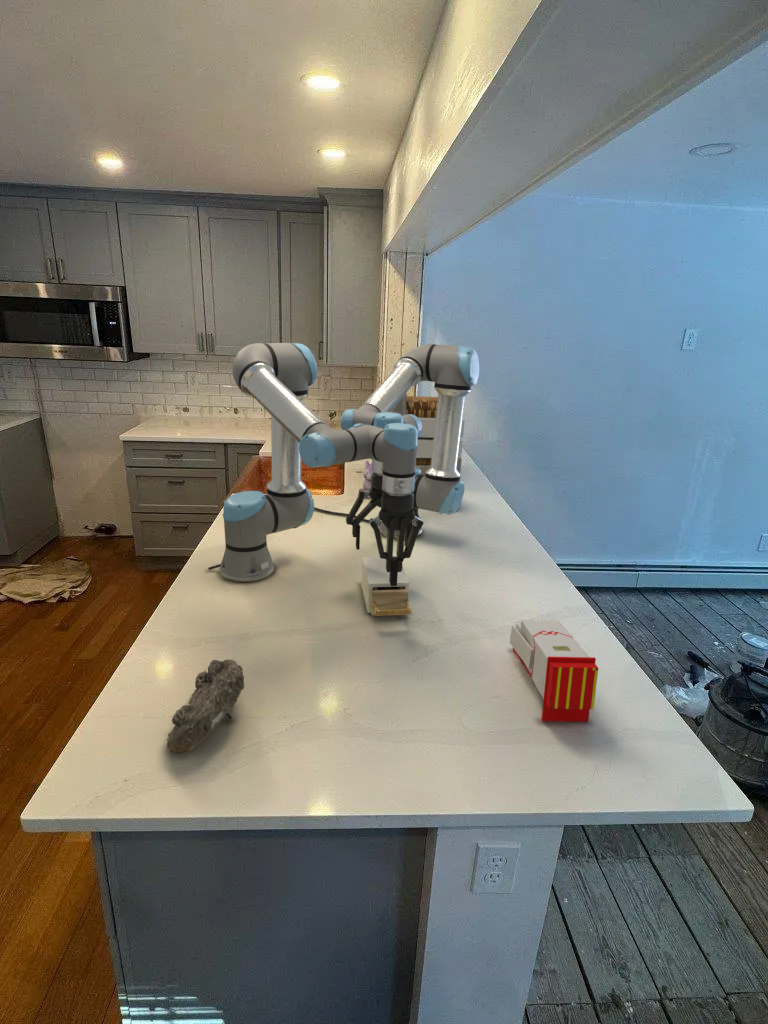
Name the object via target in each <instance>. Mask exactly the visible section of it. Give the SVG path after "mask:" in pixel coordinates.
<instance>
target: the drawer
mask: <svg viewBox="0 0 768 1024" xmlns="http://www.w3.org/2000/svg"><path fill="white" fill-rule="evenodd" d="M409 593H410V591H408V589H403V586H399V587H373V590H372V599H371V613H370V616H375V617H378V616H379V617H381V616H404V615H405V616H406V615H408V616H409V615H412V614H413V610H412V608H410V605H409Z"/></svg>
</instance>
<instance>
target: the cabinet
mask: <svg viewBox="0 0 768 1024" xmlns="http://www.w3.org/2000/svg"><path fill="white" fill-rule="evenodd" d="M393 557H397V555H393ZM360 567H361V568H360V569H361V570H360V571H361V572H360V586H361V590H362V595H363V599H364V603H365V607H366V612H367V614H371V599H372V590H373V587H399V586H403V589H408V591H409V590H410V581H409V578H408V576H407V574H406V572H405V569H404V567H403V565H402V571H401V572H398V576H397V586H391V585H390V582H389V576H390V572H387V570H386V559H381V558H380V555H374V556H361V566H360ZM409 592H410V591H409Z"/></svg>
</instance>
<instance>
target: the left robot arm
mask: <svg viewBox="0 0 768 1024" xmlns="http://www.w3.org/2000/svg"><path fill="white" fill-rule="evenodd" d="M315 358H316V357H315V356H314V354H313V353H312V350H311V349H310V348H309V347H307V346H306V345H305V344H303V343H297V342H267V343H265V342H263V343H262V342H255V343H251V344H247V345H245V346H244V347H243V348H242V349H240V350H239V351H238V353H237V354H236V356H235V357H234V359H233V363H232V368H231V369H232V370H231V371H232V376H233V380H234V382H235V384H236V386H237V388H238V389H239V390H240V391H241V392H242V393H243V395H245V396H246V397H247V398H250V399H255V401H256V402H257V403H259V404H260V405H261V406H262V408H264V409H265V410H266V411H267V412H268V413H269V414H270V417H271V418H270V421H271V422H270V423H271V425H270V426H271V428H270V429H271V430H270V431H271V433H270V434H271V439H270V440H271V445H270V446H271V480H270V481H269V482H267V484H266V493H265V494H264V492H262V491H260V490H249V491H248V490H243V491H239V492H236V493H233V494H231V495H229V496H228V497H227V498H226V499H225V501H224V502H223V512H222V517H223V525H224V527H223V528H224V529H223V530H224V541H225V543H224V544H225V549H224V553H223V555H222V559H221V562H220V563H219V564H215V565H212V566H209V567H207V569H208V571H211V570H214V569H218V568H219V570H220V576H221V577H222V578H224V579H225V580H227V581H229V582H234V583H253V582H254V583H255V582H259V581H262V580H265V579H267V578H269V577H270V576H271V575H272V574H273V573H274V570H275V568H274V566H275V565H274V561H273V559H272V558H273V557H272V556H271V553H270V551H269V548H268V544H267V542H268V541H267V536H268V535H271V534H276V533H280V532H283V531H288V530H292V529H297V528H300V527H301V526H304V525H306V524H308V523H309V522H311V519H312V517H313V515H314V511H315V510H314V507H315V501H314V499H313V495H312V492H311V491H310V490H309V489H308V488H307V485H306V484H305V482H303V480H302V462H303V464H304V465H305V466H307V467H309V468H310V469H311V468H312V469H316V468H327V467H332V466H336V465H341V464H346V463H353V462H359V461H363V460H372V459H373V460H376V461H379V462H383V477H382V490H383V492H382V497H381V507H380V510H379V512H378V515H377V516H376V517H374V518H373V517H371V518H369V519H368V520H369V522H370V523H369V522H368V523H369V524H370V527H371V528H372V530H373V533H374V538H375V542H376V547H377V551H378V556H380V558H381V559H386V570H387V572H390V576H389V582H390V585H391V586H397V576H398V572H401V571H402V566H403V562H404V560H405V559H410V558H411V556H412V553H413V550H414V547H415V543H416V540H417V539H418V538H417V535H418V532H419V530H420V528H421V527H422V528H423V526H424V523H425V522H424V521H423V519H422V517H419V518H418V517H416V516H415V514H414V511H413V504H414V494H413V491H414V488H415V469H416V468H417V466H416V456H417V448H418V438H417V429H416V427H415V426H413V425H410V424H403V423H391V424H388V425H386V426H385V429H382V428H378V427H375V426H373V425H370V424H361V423H358V424H355V425H353V426H352V427H351V428H349V429H344V430H342V429H337V430H334V429H332V427H330V426H329V425H328V424H327V423H326V422H325V421H324V420H323V419H321V418H320V416H318V414H317V413H315V412H314V411H313V410H312V409H311V408H310V407H309V406H307V404H305V402H303V401H304V399H305V398H306V397H307V396H308V395H309V387H311V386H312V385H314V383H315V382H316V380H317V377H318V366H317V361H316V359H315ZM412 520H413V521H412ZM380 521H382V522H383V524H384V525H385V527H386V528H387V537H386V547H385V549H384V545H383V540H382V535H381V534H380V530H379V526H380ZM411 522H412V524H413V525H412V528H411V531H410V534H409V537H408V540H407V544H406V547H405V545H404V544H405V540H404V535H405V529H406V528H407V526H408V525H409V524H410V523H411ZM394 530H398V536H397V540H396V556H397V557H393V556H394V540H395V539H394Z"/></svg>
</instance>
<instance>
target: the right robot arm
mask: <svg viewBox="0 0 768 1024" xmlns="http://www.w3.org/2000/svg"><path fill="white" fill-rule="evenodd" d="M479 376H480V361H479V357H478V353H477V351H476V350H475V349H474V348H473V347H470V346H464V345H451V344H450V345H449V344H436V343H435V344H434V343H427V344H422V345H419V346H417V347H415V348H412V349H411V350H410V351H407V352H406V353H405V354H403V355H402V356H401V357H399V359H398V360H397V361H396V362H395V363H394V365H393V370H392V371H391V372H390V373H389V374H388V376H386V378H385V379H384V380H383V381H382V382H381V383H380V385H378V387H377V388H376V389H375V390H374V391H373V393H371V394H370V395H369V397H368V398H366V400H365V401H364V402H363V403H362V404H361V406H359V408H358V409H355V408H349V409H345V410H344V411H343V413H342V415H341V418H340V427H341V430H344V429H349V428H351V427H352V426H353V425H355V424H358V423H361V424H370V425H373V426H375V427H378V428H382V429H385V426H386V425H388V424H391V423H403V424H410V425H413V426H415V427H416V429H417V438H419V436H420V435H421V433H422V424H421V421H420V420H419V418H418V417H416V416H415V415H411V414H408V415H407V414H405V415H401V414H398V413H392V412H391V411H392V409H393V408H394V407H395V406H396V405H397V403H398V402H399V401H400V400H401V399H402V397H403V396H404V395H405V394H406V393H407V394H408V392H409V390H410V389H411V388H412V387H415V386H417V385H418V384H419V383H420V382H432V383H434V386H433V387H434V390H435V391H436V393H437V397H438V402H437V411H436V420H435V430H434V439H433V448H432V458H431V465H430V466H429V468H427V469H426V470H425V471H424V472H425V473H424V474H422V470H421V468H419V467H416V469H415V488H414V491H413V494H414V504H413V511H414V514H415V516H416V517H418V518H420V515H419V510H423V511H428V512H434V513H437V514H440V515H442V514H444V515H453V514H454V513H456V512H457V510H458V509H459V508H460V506H461V505H460V503H461V504H462V502H463V498H464V495H465V489H466V487H465V482H464V481H462V480H461V474H459V472H458V471H457V469H456V467H457V459H458V451H459V442H460V439H461V438H460V434H461V426H462V419H463V418H464V408H465V400H466V396H467V395H468V394H469V393H471V391H472V387H474V386H476V385H477V384H478V379H479ZM371 463H372V471H373V473H372V476H371V489H370V491H363V488H360V489H359V490H358V496H357V498H356V499H355V501H354V503H353V505H352V507H351V509H350V511H348V513H345V512H336V511H332V510H331V511H330V510H326V509H322V508H319V507H316V506H314V511H317V512H320V513H325V514H330V515H334V516H335V515H336V516H342V517H346V518H345V523H346V524H347V525H350V526H352V527H351V528H352V529H351V535H352V537H353V538H355V548H356V550H357V551H359V550H360V547H361V546H360V545H361V525H360V524H361V523H362V522H365V523H368V524H370V522H369V520H370V519H367V516H369V514H370V513H371V512H372V511H373V510H375V508H376V507H378V508H381V497H382V492H383V490H382V477H383V462H379V461H376V460H373V459H371ZM367 496H370V498H369V499H370V500H369V502H368V503H367V504H366V505H365V506H364V507H363V509H362V510H360V508H361V506H362V504H363V502H364V500H366V499H367V498H366V497H367ZM359 510H360V512H359V513H358V511H359ZM412 521H413V520H412ZM412 525H413V524H412V522H411V523H410V524H409V525H408V526H407V528H406V529H405V535H404V548H405V547H406V544H407V540H408V537H409V534H410V531H411V528H412ZM378 528H379V530H380V535H381V536H382V537H385V538H387V528H386V527H385V525H384V524H383V522H382V521H380V526H379V527H378ZM422 535H423V526H422V527H421V528H420V530H419V532H418V535H417V538H416V539H418V538H420V537H421V536H422ZM397 536H398V530H394V539H393V540H395V541H397Z"/></svg>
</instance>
